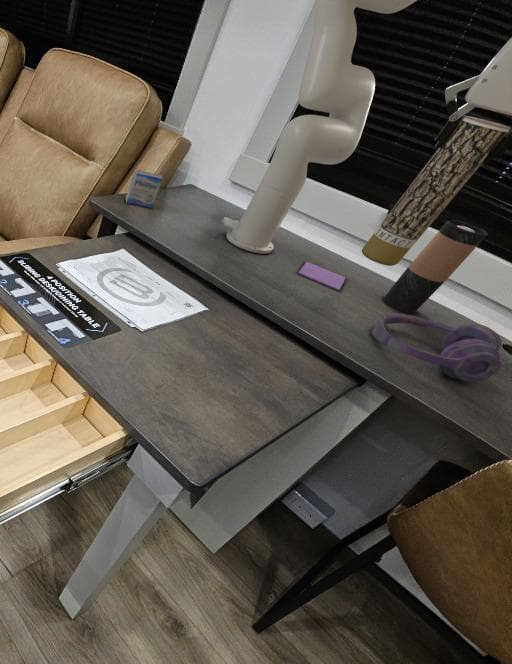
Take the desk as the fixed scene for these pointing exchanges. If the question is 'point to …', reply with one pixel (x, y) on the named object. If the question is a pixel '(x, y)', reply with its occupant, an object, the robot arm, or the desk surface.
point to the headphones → (450, 347)
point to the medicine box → (143, 188)
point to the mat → (322, 276)
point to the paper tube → (434, 188)
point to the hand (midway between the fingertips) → (461, 153)
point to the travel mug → (434, 265)
